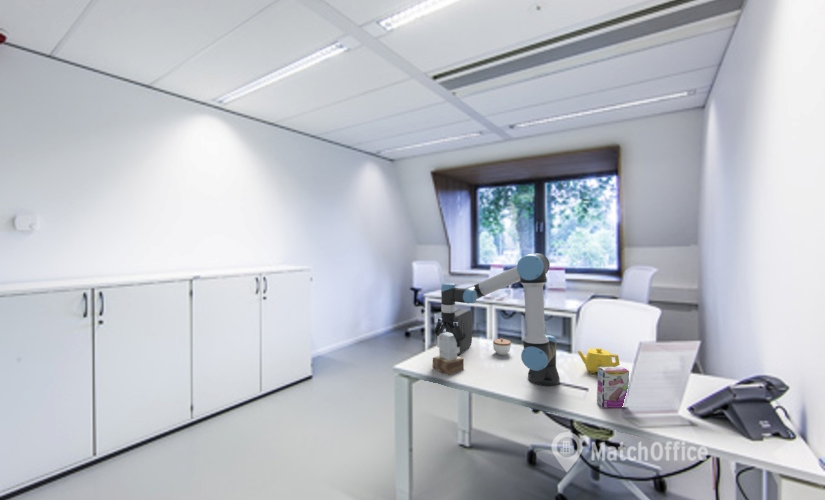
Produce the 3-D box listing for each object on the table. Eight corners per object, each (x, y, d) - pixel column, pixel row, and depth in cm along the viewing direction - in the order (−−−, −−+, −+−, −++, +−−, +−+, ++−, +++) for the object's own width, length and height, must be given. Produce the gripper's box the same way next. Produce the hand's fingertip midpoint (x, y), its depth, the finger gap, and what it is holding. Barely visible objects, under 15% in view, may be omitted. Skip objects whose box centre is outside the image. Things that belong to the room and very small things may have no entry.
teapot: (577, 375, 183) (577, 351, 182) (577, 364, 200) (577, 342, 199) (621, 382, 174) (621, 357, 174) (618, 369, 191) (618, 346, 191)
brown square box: (463, 369, 192) (463, 357, 192) (448, 375, 185) (448, 363, 184) (447, 363, 201) (447, 352, 201) (432, 368, 194) (432, 357, 193)
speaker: (462, 344, 237) (462, 307, 236) (474, 346, 233) (474, 309, 232) (445, 355, 216) (445, 315, 215) (458, 357, 211) (458, 316, 210)
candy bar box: (603, 409, 147) (603, 370, 147) (596, 403, 152) (596, 366, 152) (628, 408, 148) (629, 370, 147) (621, 403, 153) (622, 366, 152)
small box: (457, 358, 192) (457, 334, 191) (449, 360, 188) (449, 336, 187) (447, 354, 198) (447, 331, 197) (438, 356, 194) (439, 333, 193)
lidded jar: (512, 352, 220) (513, 337, 220) (507, 357, 211) (507, 342, 211) (496, 349, 226) (496, 335, 225) (490, 354, 217) (490, 339, 216)
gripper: (470, 314, 185) (470, 353, 185) (437, 307, 204) (437, 343, 205) (460, 316, 180) (460, 357, 181) (427, 309, 199) (427, 345, 200)
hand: (448, 349), depth 193 cm, fingers open, 13 cm apart
